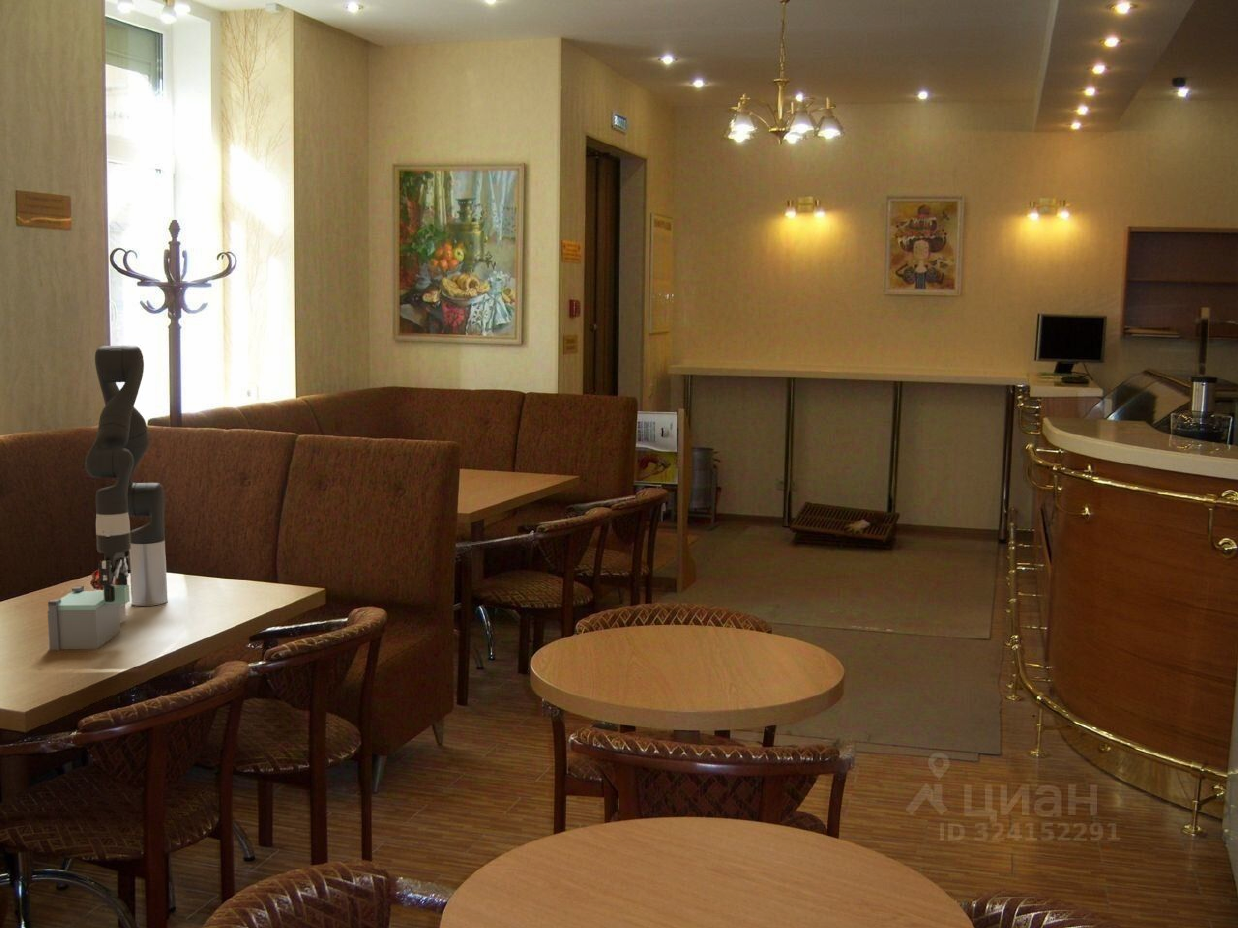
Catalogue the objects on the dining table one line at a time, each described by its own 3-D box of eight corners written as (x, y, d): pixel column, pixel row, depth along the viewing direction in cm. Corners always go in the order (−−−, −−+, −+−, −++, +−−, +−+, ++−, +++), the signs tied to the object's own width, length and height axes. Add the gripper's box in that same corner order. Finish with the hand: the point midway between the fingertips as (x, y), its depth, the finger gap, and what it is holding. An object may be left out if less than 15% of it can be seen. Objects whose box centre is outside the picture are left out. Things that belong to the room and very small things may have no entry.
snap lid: (73, 595, 297) (72, 579, 296) (137, 595, 297) (136, 579, 297) (49, 610, 282) (48, 593, 282) (116, 609, 283) (115, 593, 283)
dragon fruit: (126, 592, 349) (98, 607, 338) (104, 574, 350) (75, 589, 339) (137, 571, 346) (109, 586, 335) (115, 553, 347) (86, 567, 336)
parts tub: (76, 633, 299) (73, 585, 297) (121, 633, 300) (119, 585, 298) (48, 653, 283) (45, 602, 281) (96, 652, 283) (93, 601, 282)
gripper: (108, 526, 295) (111, 590, 297) (85, 536, 281) (89, 604, 283) (139, 526, 295) (142, 590, 297) (118, 536, 281) (121, 604, 283)
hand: (116, 597), depth 290 cm, fingers open, 8 cm apart
